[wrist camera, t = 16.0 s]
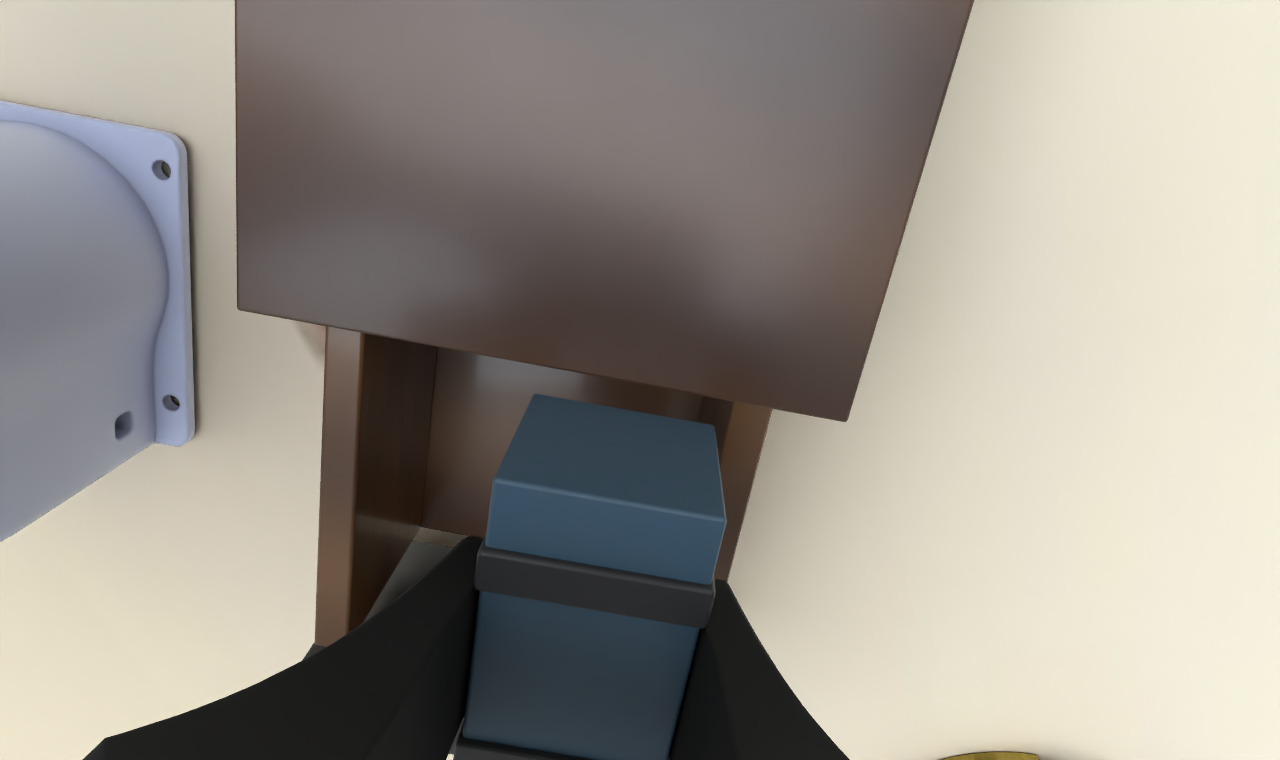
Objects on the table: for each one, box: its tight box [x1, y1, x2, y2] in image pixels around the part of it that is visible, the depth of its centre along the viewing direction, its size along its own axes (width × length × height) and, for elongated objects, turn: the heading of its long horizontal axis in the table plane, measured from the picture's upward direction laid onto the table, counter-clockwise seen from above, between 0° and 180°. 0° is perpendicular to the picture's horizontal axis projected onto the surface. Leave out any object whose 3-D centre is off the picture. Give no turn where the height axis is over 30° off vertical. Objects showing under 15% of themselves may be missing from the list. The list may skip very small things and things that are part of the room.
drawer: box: [302, 326, 772, 754], centre depth 20 cm, size 17×10×7 cm, turn 170°
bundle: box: [453, 394, 727, 760], centre depth 13 cm, size 6×3×3 cm, turn 170°
